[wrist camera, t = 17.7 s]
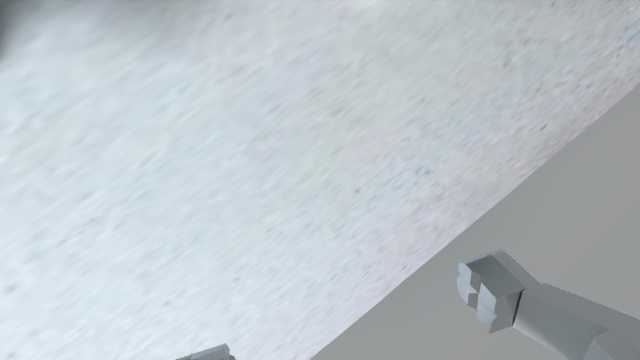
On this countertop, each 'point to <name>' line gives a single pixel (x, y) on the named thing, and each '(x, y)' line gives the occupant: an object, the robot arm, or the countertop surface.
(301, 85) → the countertop surface
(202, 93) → the countertop surface
